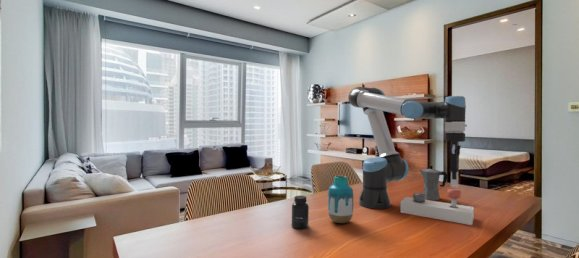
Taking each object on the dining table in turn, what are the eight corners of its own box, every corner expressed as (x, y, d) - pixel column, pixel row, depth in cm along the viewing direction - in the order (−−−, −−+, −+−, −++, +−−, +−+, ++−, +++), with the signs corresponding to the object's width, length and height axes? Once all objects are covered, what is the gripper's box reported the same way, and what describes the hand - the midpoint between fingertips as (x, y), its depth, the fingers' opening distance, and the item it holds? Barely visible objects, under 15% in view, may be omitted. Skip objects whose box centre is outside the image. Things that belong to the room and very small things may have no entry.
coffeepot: (414, 196, 158) (415, 164, 157) (423, 194, 163) (423, 163, 163) (443, 203, 145) (443, 168, 145) (451, 200, 151) (452, 166, 151)
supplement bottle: (296, 230, 109) (296, 200, 108) (288, 225, 115) (288, 195, 115) (311, 227, 112) (311, 197, 112) (303, 222, 118) (303, 193, 118)
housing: (400, 212, 131) (400, 201, 131) (405, 207, 139) (406, 196, 139) (472, 225, 114) (472, 213, 114) (473, 218, 123) (473, 207, 122)
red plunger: (446, 208, 122) (446, 190, 122) (448, 205, 126) (448, 188, 126) (460, 210, 119) (460, 191, 119) (461, 207, 123) (461, 189, 123)
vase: (337, 216, 126) (337, 173, 125) (358, 222, 118) (358, 176, 118) (322, 222, 118) (322, 176, 118) (343, 228, 111) (343, 180, 110)
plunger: (412, 211, 130) (412, 194, 130) (414, 209, 134) (414, 192, 134) (423, 214, 127) (424, 196, 127) (426, 211, 131) (426, 194, 131)
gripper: (463, 132, 114) (463, 190, 115) (466, 131, 125) (465, 184, 125) (443, 132, 119) (442, 188, 119) (447, 131, 129) (446, 182, 130)
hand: (454, 186), depth 122 cm, fingers closed
